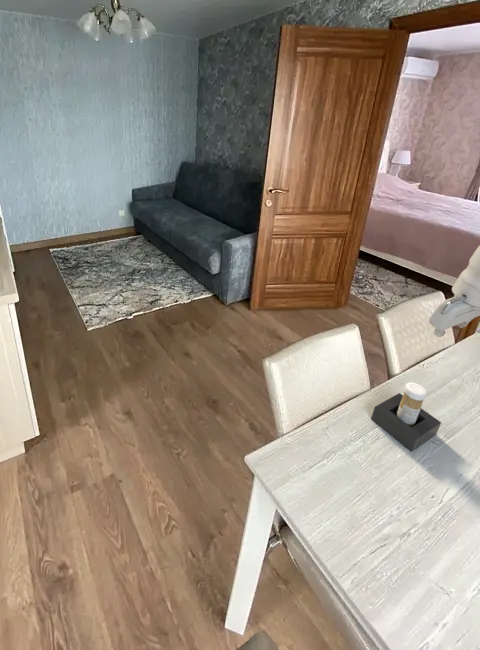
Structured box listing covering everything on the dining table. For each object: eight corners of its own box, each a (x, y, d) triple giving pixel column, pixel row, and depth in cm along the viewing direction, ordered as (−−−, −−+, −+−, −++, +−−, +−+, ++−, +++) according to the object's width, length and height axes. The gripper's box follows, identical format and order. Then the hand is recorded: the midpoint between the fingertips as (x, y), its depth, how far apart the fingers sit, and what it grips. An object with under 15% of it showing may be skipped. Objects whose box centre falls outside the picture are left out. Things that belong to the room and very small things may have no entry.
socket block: (395, 404, 100) (399, 392, 98) (436, 434, 91) (441, 422, 89) (370, 419, 95) (374, 406, 93) (411, 452, 86) (416, 439, 84)
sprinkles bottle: (396, 416, 96) (409, 378, 91) (415, 427, 93) (429, 388, 88) (390, 426, 93) (403, 387, 88) (410, 437, 90) (424, 397, 85)
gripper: (462, 309, 79) (435, 349, 87) (513, 290, 87) (483, 328, 94) (436, 292, 84) (412, 332, 92) (486, 275, 91) (460, 313, 99)
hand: (449, 330), depth 93 cm, fingers open, 8 cm apart
